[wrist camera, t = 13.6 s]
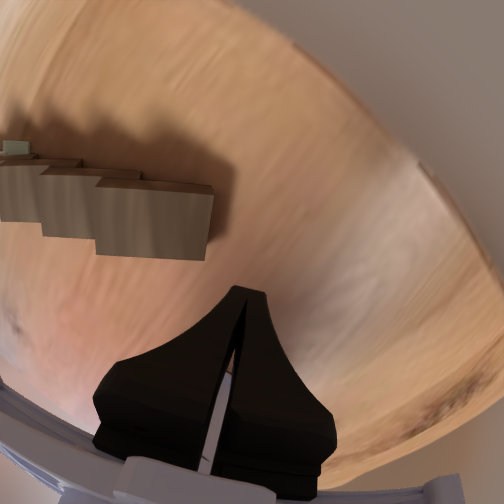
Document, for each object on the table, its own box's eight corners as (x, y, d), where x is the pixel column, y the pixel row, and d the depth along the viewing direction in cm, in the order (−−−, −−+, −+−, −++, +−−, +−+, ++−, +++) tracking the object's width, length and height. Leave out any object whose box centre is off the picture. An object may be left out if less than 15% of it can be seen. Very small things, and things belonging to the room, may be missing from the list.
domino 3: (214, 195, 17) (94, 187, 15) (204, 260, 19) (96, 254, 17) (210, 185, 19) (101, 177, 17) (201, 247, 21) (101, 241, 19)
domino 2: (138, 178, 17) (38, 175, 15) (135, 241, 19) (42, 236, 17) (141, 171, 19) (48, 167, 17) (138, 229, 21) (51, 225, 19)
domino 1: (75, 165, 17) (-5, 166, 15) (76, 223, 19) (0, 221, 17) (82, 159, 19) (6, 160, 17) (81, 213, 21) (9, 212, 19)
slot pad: (30, 141, 18) (27, 142, 18) (32, 212, 21) (30, 213, 21) (4, 139, 18) (2, 140, 18) (7, 205, 21) (5, 206, 21)
